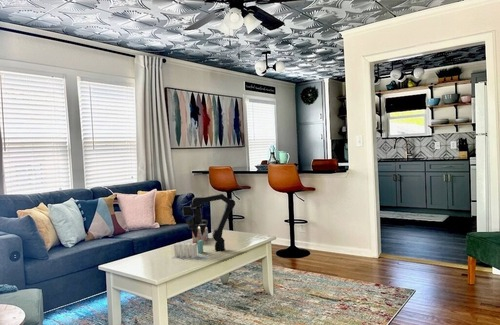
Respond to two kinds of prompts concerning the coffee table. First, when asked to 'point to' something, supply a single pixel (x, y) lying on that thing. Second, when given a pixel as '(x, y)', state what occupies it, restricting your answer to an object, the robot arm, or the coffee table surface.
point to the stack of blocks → (200, 235)
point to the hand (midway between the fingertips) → (199, 236)
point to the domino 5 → (200, 246)
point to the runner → (200, 257)
